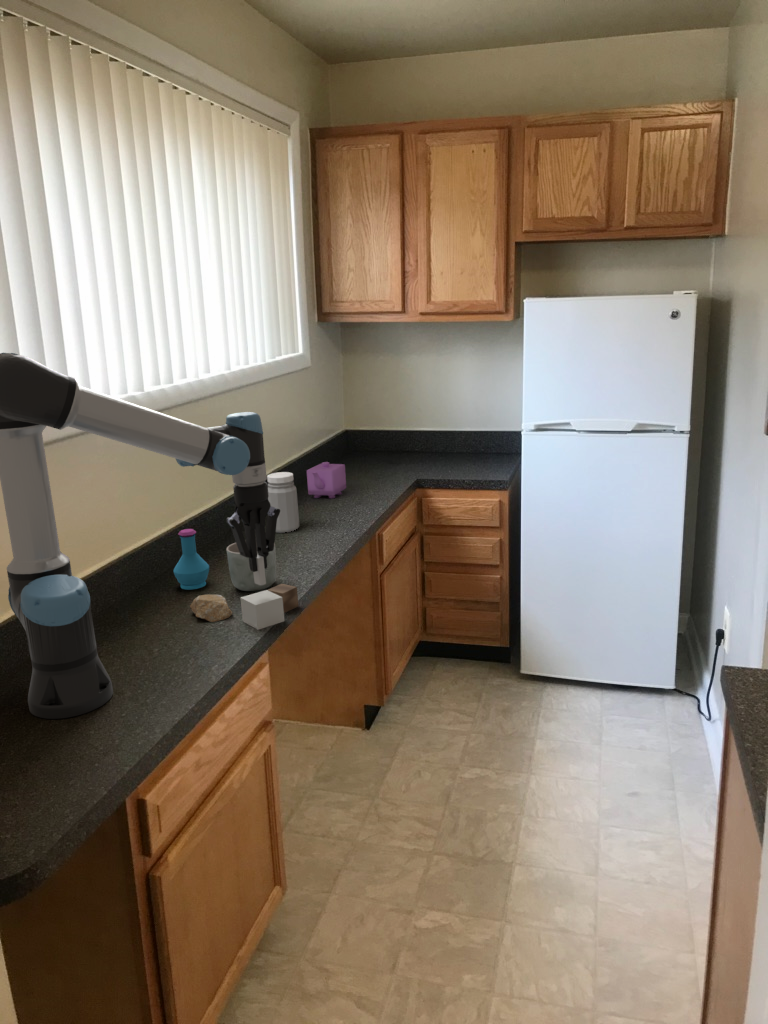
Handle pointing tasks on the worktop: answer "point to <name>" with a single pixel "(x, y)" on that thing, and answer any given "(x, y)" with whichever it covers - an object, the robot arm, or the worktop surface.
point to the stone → (211, 607)
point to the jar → (284, 500)
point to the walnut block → (286, 596)
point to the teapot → (326, 479)
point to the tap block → (262, 609)
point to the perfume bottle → (190, 563)
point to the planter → (243, 574)
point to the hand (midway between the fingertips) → (260, 583)
